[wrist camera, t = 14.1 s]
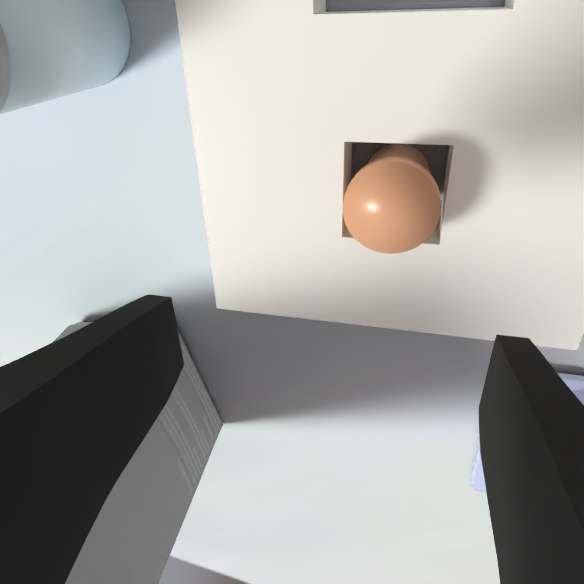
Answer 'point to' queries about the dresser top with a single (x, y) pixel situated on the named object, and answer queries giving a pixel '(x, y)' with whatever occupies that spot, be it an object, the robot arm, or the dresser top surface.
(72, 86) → the cup
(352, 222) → the tan round piece
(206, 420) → the skincare box
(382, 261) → the housing
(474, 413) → the dresser top surface
